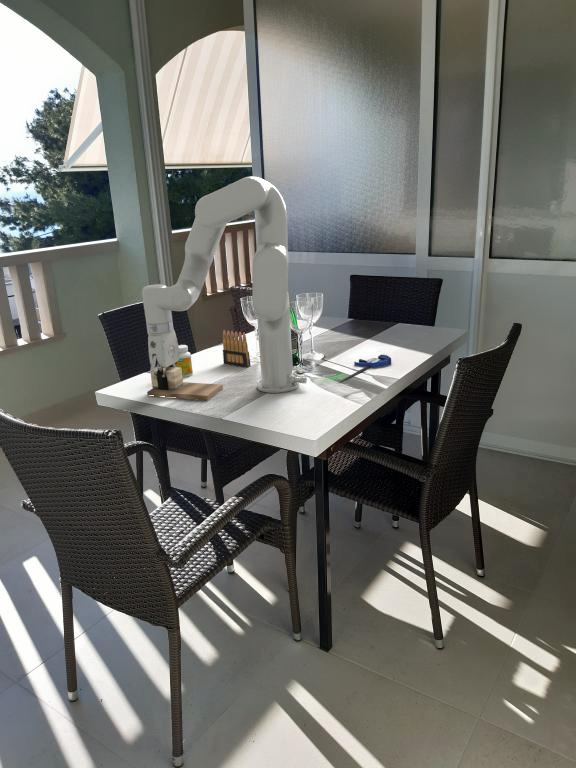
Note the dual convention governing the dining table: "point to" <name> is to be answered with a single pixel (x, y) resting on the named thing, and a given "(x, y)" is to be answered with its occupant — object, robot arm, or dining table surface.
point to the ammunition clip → (235, 350)
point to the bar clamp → (370, 364)
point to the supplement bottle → (185, 361)
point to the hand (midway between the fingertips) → (167, 385)
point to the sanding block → (170, 378)
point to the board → (189, 391)
